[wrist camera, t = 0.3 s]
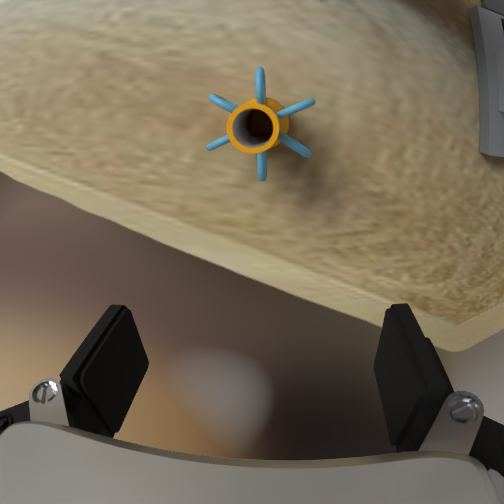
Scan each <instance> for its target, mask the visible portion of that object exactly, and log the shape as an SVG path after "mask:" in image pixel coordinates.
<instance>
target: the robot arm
mask: <svg viewBox="0 0 504 504" xmlns="http://www.w3.org/2000/svg"><path fill="white" fill-rule="evenodd" d="M148 364H149V361H148V358H147V355H146V353H145V350H144V347H143V344H142V342H141V339H140V336H139V333H138V330H137V327H136V325H135V322H134V319H133V316H132V313H131V311H130V310H129V309H127V307H126V306H124V305H110V306H109V308H108V309H107V310H106V312H105V313H104V314H103V316H102V317H101V318H100V320H99V321H98V322H97V323H96V325H95V326H94V327H93V329H92V330H91V332H90V333H89V334H88V336H87V337H86V338H85V340H84V341H83V342H82V344H81V345H80V347H79V348H78V349H77V351H76V352H75V354H74V355H73V356H72V358H71V359H70V361H69V362H68V363H67V365H66V367H65V368H64V369H63V371H62V372H61V374H60V375H59V376H60V377H61V380H60V382H58V381H57V380H56V379H53V378H46V379H42V380H40V381H38V382H37V383H36V384H35V385H34V386H33V387H32V388H31V390H30V393H29V400H28V401H26V402H23V403H21V404H18V405H16V406H13V407H11V408H8V409H6V410H3V411H0V504H504V425H502V424H500V423H498V422H496V421H494V420H492V419H489V418H487V417H485V416H483V414H484V408H483V404H482V402H481V401H480V399H478V397H477V396H475V395H474V394H472V393H470V392H466V391H457V392H454V390H453V388H452V385H451V383H450V381H449V378H448V376H447V374H446V372H445V369H444V367H443V365H442V363H441V361H440V359H439V356H438V354H437V352H436V350H435V348H434V346H433V344H432V342H431V340H430V339H429V338H425V336H424V334H423V332H422V330H421V328H420V326H419V324H418V322H417V320H416V318H415V316H414V314H413V312H412V310H411V308H410V307H409V305H408V304H407V303H403V304H392V305H391V308H389V309H386V312H385V317H384V322H383V327H382V332H381V336H380V340H379V345H378V349H377V353H376V358H375V361H374V372H375V376H376V381H377V385H378V389H379V393H380V397H381V402H382V406H383V410H384V415H385V420H386V424H387V429H388V434H389V439H390V443H391V445H395V446H396V451H397V453H393V454H384V455H376V456H368V457H357V458H344V459H328V460H305V461H275V460H249V459H233V458H222V457H213V456H204V455H196V454H188V453H182V452H175V451H169V450H163V449H158V448H153V447H148V446H143V445H139V444H134V443H130V442H125V441H121V440H117V439H113V437H114V434H115V433H116V432H118V431H119V430H120V428H121V426H122V424H123V421H124V419H125V417H126V415H127V412H128V410H129V408H130V406H131V404H132V401H133V399H134V397H135V395H136V393H137V390H138V388H139V386H140V384H141V382H142V380H143V378H144V375H145V373H146V371H147V369H148ZM403 451H407V452H403ZM398 452H402V453H398Z"/></svg>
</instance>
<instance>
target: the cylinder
mask: <svg viewBox="0 0 504 504" xmlns="http://www.w3.org/2000/svg"><path fill="white" fill-rule="evenodd" d="M255 92H256V98H254V99H252V100H249V101H248V102H246V103H245V104H243V105H241V106H237V105H236V104H234V103H232V102H230V101H228V100H226V99H224V98H222V97H220V96H218V95H216V94H211V95H209V100H210V101H211V102H213V103H214V104H216V105H217V106H219V107H221V108H223V109H225V110H227V111H229V112H231V115H230V116H229V119H228V122H227V135H225V136H223V137H221V138H219V139H217V140H215V141H213V142H211V143H209V144H208V145H207V149H208V150H209V151H211V150H214V149H216V148H218V147H220V146H222V145H224V144H226V143H228V142H230V141H231V143H232V144H233V145H234V146H235V147H236V148H237V149H239V150H241V151H243V152H246V153H252V154H254V153H257V172H258V179H259V180H260V181H262V182H263V181H265V180H266V176H267V149H269V148H272V147H275V146H277V145H278V144H280V143H281V142H282V143H283V144H285V145H286V146H288V147H289V148H291V149H292V150H294V151H295V152H297V153H299V154H300V155H302V156H304V157H307V158H309V157H311V155H312V152H311V151H310V150H309V149H308V148H306V147H305V146H304V145H302V144H301V143H299V142H298V141H296V140H295V139H293V138H291V137H290V136H288V135H287V133H288V131H289V125H290V122H289V116H288V115H291V114H293V113H296V112H298V111H301V110H303V109H306V108H308V107H311V106H313V105H315V100H314V99H313V98H310V99H308V100H305V101H302V102H300V103H297V104H295V105H292V106H290V107H287V108H284V107H283V106H282V105H281V104H280V103H278V102H277V101H275V100H273V99H270V98H266V88H265V73H264V69H263V68H262V67H258V68H257V69H256V73H255Z"/></svg>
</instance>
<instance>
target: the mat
mask: <svg viewBox="0 0 504 504" xmlns="http://www.w3.org/2000/svg"><path fill="white" fill-rule="evenodd" d="M481 4H482V8H485V9H487V10H490V11H493V12H495V13H497V14H500V15H502V16H504V0H481Z"/></svg>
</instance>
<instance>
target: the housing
mask: <svg viewBox="0 0 504 504" xmlns="http://www.w3.org/2000/svg"><path fill="white" fill-rule="evenodd" d="M468 10H469V14H470V20H471V25H472V31H473V37H474V44H475V51H476V60H477V70H478V82H479V100H480V146H479V152H481V153H484V154H487V155H491V156H498V157H504V32H503V27H502V24H503V25H504V16H502V15H500V14H497V13H495V12H493V11H490V10H487V9H485V8H482V7H479V6H475V7H472V8H470V9H468Z"/></svg>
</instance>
